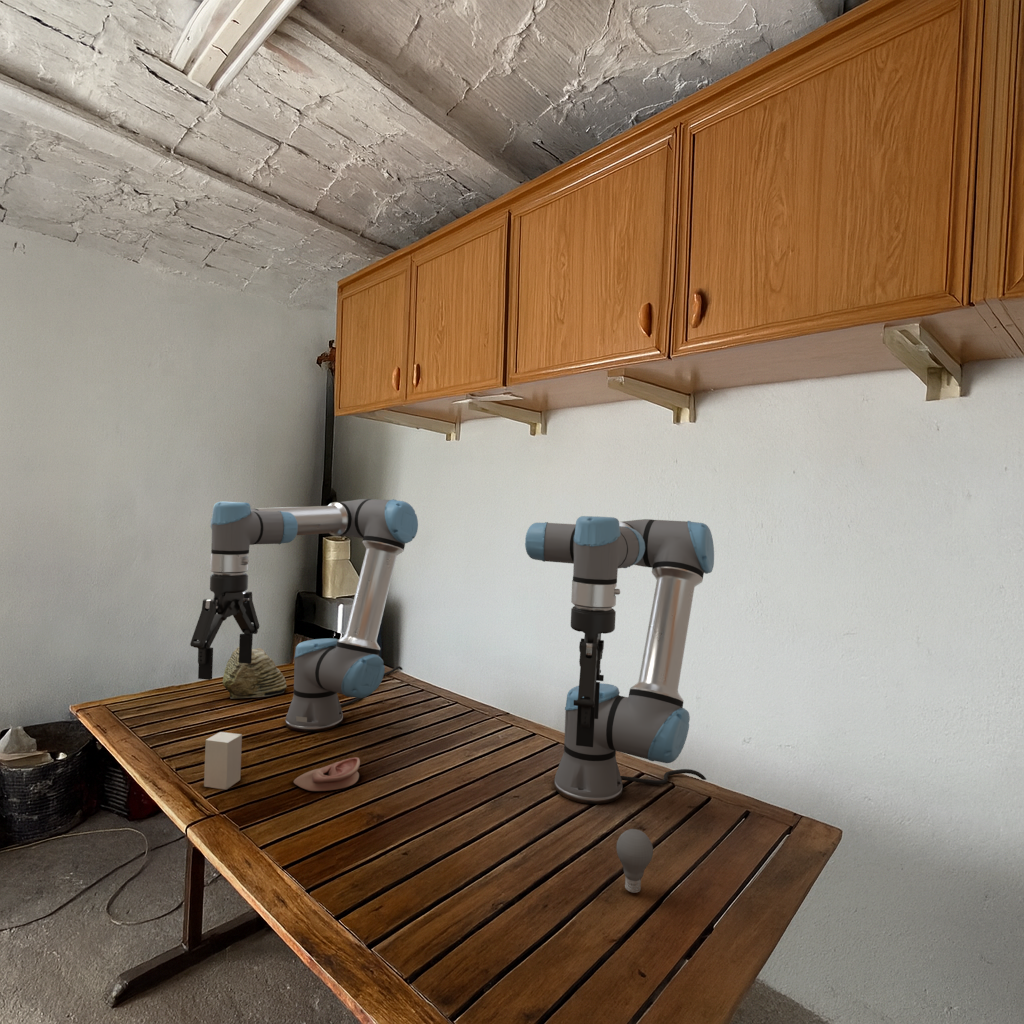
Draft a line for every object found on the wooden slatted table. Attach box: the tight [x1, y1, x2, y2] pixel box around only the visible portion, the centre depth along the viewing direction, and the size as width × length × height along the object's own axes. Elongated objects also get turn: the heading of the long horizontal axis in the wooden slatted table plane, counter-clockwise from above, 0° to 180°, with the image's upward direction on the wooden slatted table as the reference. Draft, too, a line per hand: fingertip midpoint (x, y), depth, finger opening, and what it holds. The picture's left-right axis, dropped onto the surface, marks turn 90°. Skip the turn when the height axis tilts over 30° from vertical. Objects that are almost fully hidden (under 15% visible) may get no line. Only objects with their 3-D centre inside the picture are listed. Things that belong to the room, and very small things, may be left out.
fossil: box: [222, 646, 288, 699], centre depth 198 cm, size 9×18×15 cm, turn 132°
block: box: [203, 731, 243, 790], centre depth 138 cm, size 5×5×10 cm
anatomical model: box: [293, 757, 361, 792], centre depth 141 cm, size 13×4×12 cm
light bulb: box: [615, 828, 654, 894], centre depth 106 cm, size 6×6×10 cm
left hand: (226, 670), depth 137 cm, fingers open, 13 cm apart
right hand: (587, 731), depth 108 cm, fingers open, 13 cm apart
